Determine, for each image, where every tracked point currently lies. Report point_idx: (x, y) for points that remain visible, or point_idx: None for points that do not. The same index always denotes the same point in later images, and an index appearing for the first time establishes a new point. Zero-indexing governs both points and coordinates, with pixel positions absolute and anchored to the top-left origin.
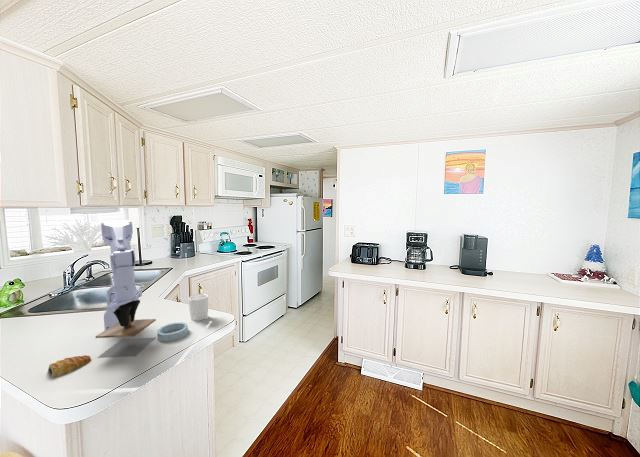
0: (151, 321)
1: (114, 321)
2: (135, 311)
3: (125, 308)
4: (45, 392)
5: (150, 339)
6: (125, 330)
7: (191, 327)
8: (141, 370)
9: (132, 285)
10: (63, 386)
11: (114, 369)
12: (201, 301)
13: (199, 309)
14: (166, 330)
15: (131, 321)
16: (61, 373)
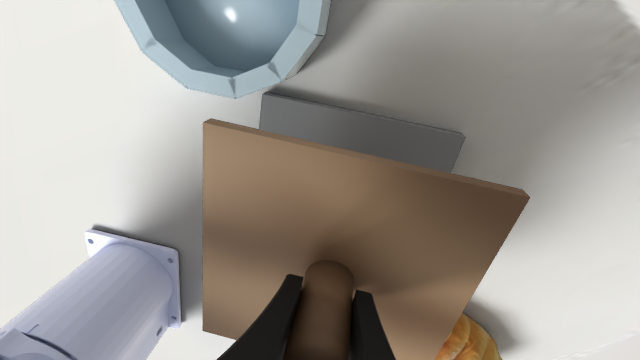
0: (260, 141)
1: (141, 336)
2: (251, 337)
3: None
4: (572, 343)
5: (281, 121)
6: (393, 277)
7: None
8: (634, 53)
9: None
10: (563, 313)
11: (529, 194)
12: None
13: None
14: (189, 52)
15: (301, 287)
16: (496, 349)
